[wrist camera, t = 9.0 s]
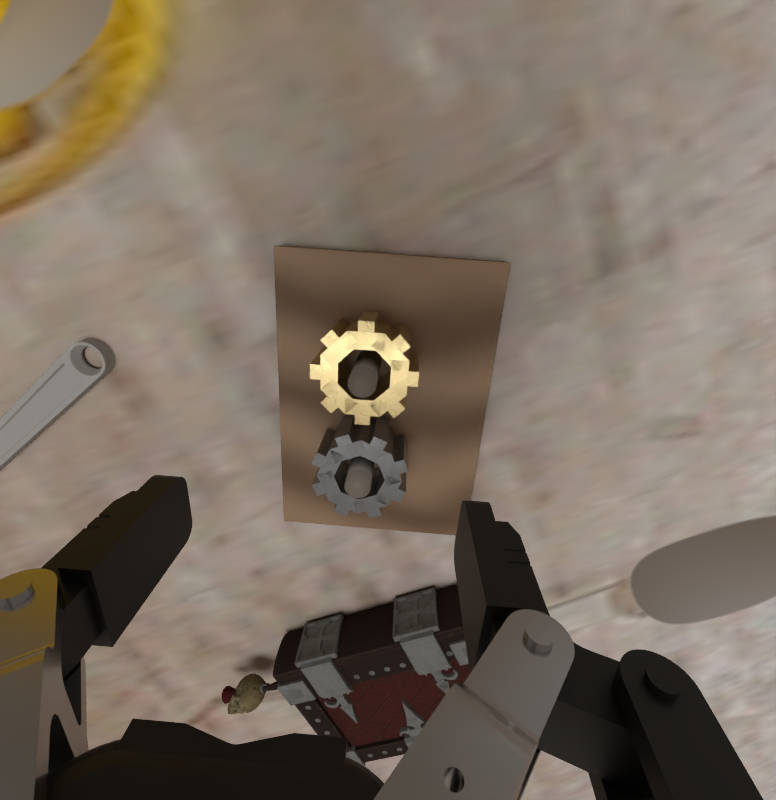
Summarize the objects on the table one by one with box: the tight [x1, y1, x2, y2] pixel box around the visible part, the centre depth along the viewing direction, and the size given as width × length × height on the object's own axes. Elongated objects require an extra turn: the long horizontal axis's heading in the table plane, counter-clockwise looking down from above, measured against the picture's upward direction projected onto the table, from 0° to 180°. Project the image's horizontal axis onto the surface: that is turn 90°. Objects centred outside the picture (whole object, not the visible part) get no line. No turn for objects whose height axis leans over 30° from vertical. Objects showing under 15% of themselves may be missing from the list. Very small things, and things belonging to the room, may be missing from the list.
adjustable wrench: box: [0, 338, 115, 470], centre depth 32 cm, size 25×6×2 cm, turn 123°
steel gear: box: [312, 414, 408, 518], centre depth 28 cm, size 6×6×4 cm
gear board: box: [274, 246, 511, 535], centre depth 26 cm, size 20×14×6 cm
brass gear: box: [310, 310, 419, 425], centre depth 25 cm, size 6×6×4 cm
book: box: [222, 585, 470, 766], centre depth 38 cm, size 15×25×5 cm, turn 113°
